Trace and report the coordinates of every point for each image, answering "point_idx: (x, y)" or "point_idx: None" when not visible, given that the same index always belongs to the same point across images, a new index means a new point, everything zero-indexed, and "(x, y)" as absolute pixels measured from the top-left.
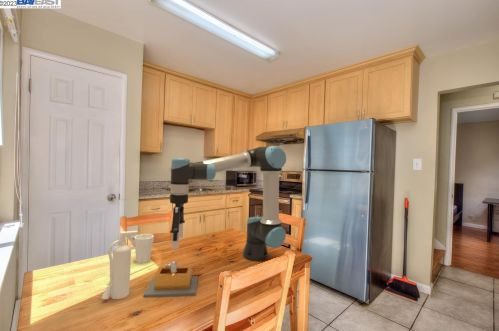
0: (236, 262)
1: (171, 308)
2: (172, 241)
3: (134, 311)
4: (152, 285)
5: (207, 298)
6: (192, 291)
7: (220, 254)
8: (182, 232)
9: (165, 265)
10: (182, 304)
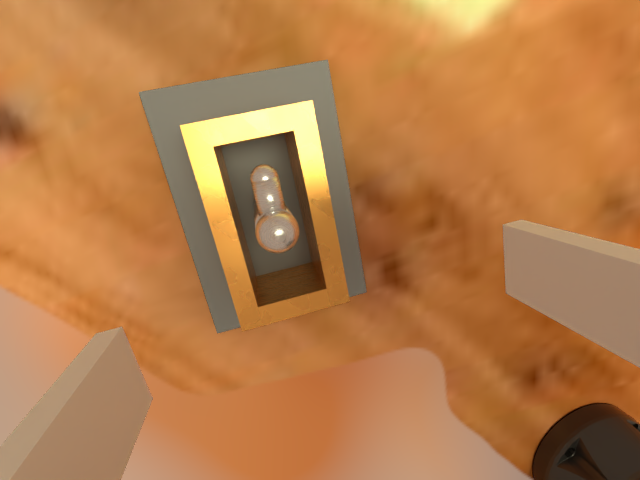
0: (521, 397)
1: (91, 268)
2: (44, 413)
3: (9, 107)
4: (241, 98)
5: (206, 378)
6: (226, 316)
7: None
8: (563, 322)
9: (251, 174)
10: (135, 301)
